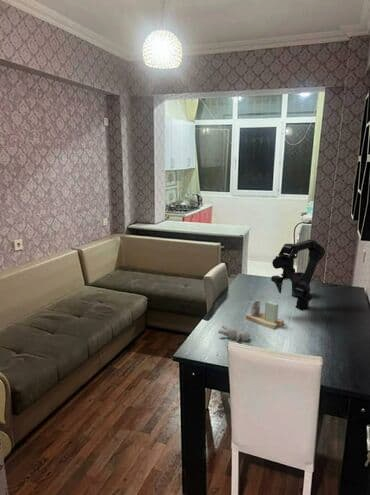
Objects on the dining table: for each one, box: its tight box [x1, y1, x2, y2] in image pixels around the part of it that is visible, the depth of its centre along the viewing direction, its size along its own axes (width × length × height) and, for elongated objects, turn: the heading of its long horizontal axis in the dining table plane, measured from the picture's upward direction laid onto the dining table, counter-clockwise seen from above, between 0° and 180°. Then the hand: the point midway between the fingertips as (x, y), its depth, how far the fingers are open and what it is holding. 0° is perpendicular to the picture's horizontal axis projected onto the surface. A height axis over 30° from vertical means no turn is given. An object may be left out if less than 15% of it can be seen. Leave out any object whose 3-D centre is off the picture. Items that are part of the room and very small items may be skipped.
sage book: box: [264, 300, 279, 323], centre depth 194 cm, size 3×6×10 cm, turn 42°
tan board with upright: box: [245, 299, 285, 330], centre depth 197 cm, size 10×18×10 cm, turn 43°
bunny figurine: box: [217, 325, 251, 342], centre depth 179 cm, size 10×5×15 cm
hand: (286, 292), depth 207 cm, fingers open, 9 cm apart
